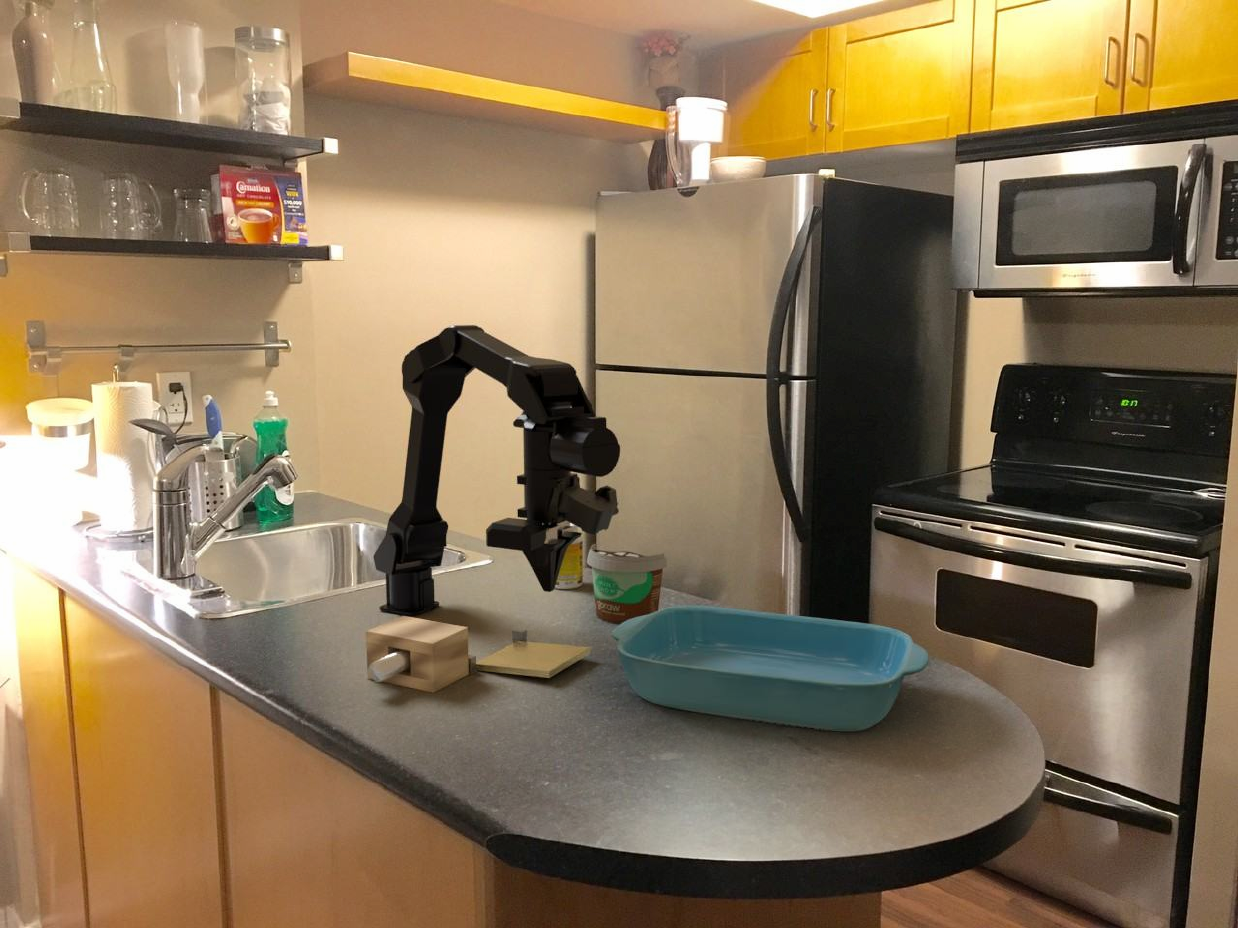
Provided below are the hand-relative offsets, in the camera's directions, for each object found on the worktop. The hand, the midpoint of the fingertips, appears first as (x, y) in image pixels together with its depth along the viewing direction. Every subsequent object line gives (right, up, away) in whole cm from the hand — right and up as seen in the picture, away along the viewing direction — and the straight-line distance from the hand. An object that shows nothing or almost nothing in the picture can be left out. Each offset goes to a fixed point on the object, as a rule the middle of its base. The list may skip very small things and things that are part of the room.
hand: (548, 590), depth 131 cm
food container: (+9, -7, +22) cm, 24 cm away
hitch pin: (-16, -10, -2) cm, 19 cm away
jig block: (-16, -10, -1) cm, 19 cm away
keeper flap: (-2, -9, +3) cm, 10 cm away
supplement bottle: (0, -4, +39) cm, 40 cm away
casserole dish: (+26, -12, -6) cm, 29 cm away
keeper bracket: (-7, -9, +5) cm, 13 cm away
